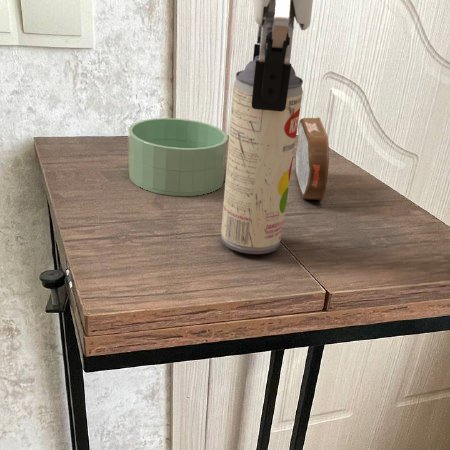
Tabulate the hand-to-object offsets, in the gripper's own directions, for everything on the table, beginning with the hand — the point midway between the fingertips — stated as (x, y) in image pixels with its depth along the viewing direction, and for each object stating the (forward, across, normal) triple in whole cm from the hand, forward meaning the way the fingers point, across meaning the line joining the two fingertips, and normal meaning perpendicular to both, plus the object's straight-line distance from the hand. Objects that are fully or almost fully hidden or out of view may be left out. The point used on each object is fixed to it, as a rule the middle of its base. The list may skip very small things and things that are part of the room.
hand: (266, 97), depth 62 cm
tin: (+16, +20, -8) cm, 27 cm away
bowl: (+16, +19, +10) cm, 27 cm away
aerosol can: (+15, 0, 0) cm, 15 cm away
